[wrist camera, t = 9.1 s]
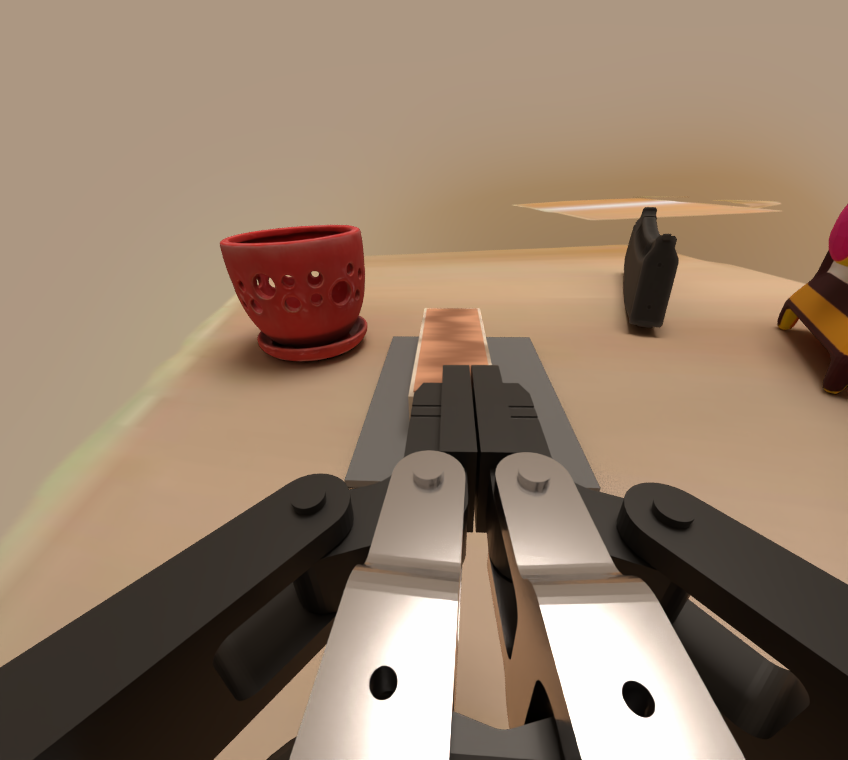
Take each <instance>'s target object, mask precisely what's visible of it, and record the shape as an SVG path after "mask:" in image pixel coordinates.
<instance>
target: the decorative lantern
mask: <svg viewBox="0 0 848 760" xmlns="http://www.w3.org/2000/svg"><path fill="white" fill-rule="evenodd" d="M799 319H800V320H801V321H802V322H803V324H804V325H805V326H806V327H807V328H808V329H809V330H810V331H811V332H812V333H813V335H814V336H815V337H816V338H817V339H818V340H819V341H820V342H821V343H822V345H823V346H824V347H825V348H826V349H827V350H828V351H829V353H830V356H831V363H830V366H829V368H828V370H827V373H826V375H825V378H824V380H823V388H824V390H825V391H827V392H828V393H833V394H837V393H839V392H841V391H843V390H844V389H845V388H846V387H847V386H848V204H847V206H846V207H845V208H844V209H843V211H842V212H841V214H840V215H839V217H838V219H837V221H836V223H835V225H834V227H833V229H832V231H831V234H830V237H829V251H828V252H827V254H826V256H825V258H824V260H823V262H822V264H821V266H820V268H819V270H818V272H817V273H816V275H815V276H814V278H813V279H812V280H811V281H809V282H808V283H807V284H806V285H804V286H803V287H802V288H800V289H799V290H798V291H797V292H795V293H794V294H793V295H792V296H791V297H790V298H789V299H787V301H786V302H785V304H784V306H783V308H782V310H781V312H780V314H779V318H778V327H779V328H780V329H783V330H788V329H791V328H792V327H794V325H795V324H796V323H797V321H798V320H799Z"/></svg>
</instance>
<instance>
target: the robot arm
mask: <svg viewBox="0 0 848 760" xmlns="http://www.w3.org/2000/svg"><path fill="white" fill-rule="evenodd" d="M474 512H475V526H476V532H482V533H487V539H488V559H487V569H488V575H489V581H490V587H491V593H492V599H493V605H494V611H495V616H496V622H497V628H498V634H499V640H500V646H501V652H502V657H503V664H504V672H505V692H506V706H507V715H508V723H509V729H507V730H502V729H496V728H493V727H491V726H488V725H486V724H483V723H481V722H478V721H476V720H473V719H471V718H469V717H466V716H464V715H461V714H459V713H456V712H455V701H456V678H457V658H458V638H459V619H460V599H461V580H462V564H463V562H464V560H465V556H466V537H467V532H473V521H474ZM690 595H691V596H692V597H694V598H695V599H696V600H698V601H699V602H700V603H702V604H703V605H704V606H706V607H707V608H708V609H710V610H711V611H712V612H714V613H715V614H716V615H718V616H719V617H720V618H721V619H723V620H724V621H725V622H727V623H728V624H729V625H731V626H732V627H733V628H735V629H736V630H737V631H739V632H740V633H741V634H743V635H744V636H745V637H747V638H748V639H749V640H751V641H752V642H753V643H755V644H756V645H757V646H759V647H760V648H761V649H763V650H764V651H765V652H766V653H768V654H769V655H770V656H772V657H773V658H774V659H776V660H777V661H778V662H780V663H781V664H782V665H784V666H785V667H786V668H787V669H789V670H790V671H789V670H786V669H783V668H781V667H779V666H777V665H775V664H773V663H771V662H770V661H768V660H767V659H766V658H764V657H763V656H762V655H760V654H759V653H758V652H756V651H755V650H754V649H753V648H751V647H750V646H749V645H747V644H746V643H745V642H743V641H742V640H741V639H739V638H738V637H737V636H736V635H734V634H733V633H732V632H730V631H729V630H728V629H726V628H725V627H724V626H723V625H721V624H720V623H719V622H717V621H716V620H715V619H713V618H712V617H711V616H709V615H708V614H707V613H706V612H704V611H703V610H702V609H700V608H699V607H698V606H696V605H695V604H694V603H693V602H691V601H690V600H689V599H688V598H689V597H690ZM326 644H327V645H326ZM325 645H326V648H325V651H324V654H323V657H322V661H321V664H320V667H319V670H318V673H317V676H316V679H315V682H314V685H313V688H312V691H311V694H310V697H309V701H308V704H307V707H306V710H305V713H304V716H303V719H302V722H301V725H300V728H299V731H298V734H297V737H295V738H293V739H292V740H290V741H289V742H288V743H286V744H285V745H284V746H282V747H281V748H280V749H279V750H277V751H276V752H275V753H273V754H272V755H271V756H270V757H269V758H268V759H267V760H848V585H847V584H846V583H844V582H842V581H840V580H839V579H837V578H835V577H834V576H832V575H830V574H828V573H827V572H825V571H823V570H821V569H820V568H818V567H816V566H814V565H813V564H811V563H809V562H807V561H806V560H804V559H802V558H800V557H799V556H797V555H795V554H793V553H792V552H790V551H788V550H787V549H785V548H783V547H781V546H780V545H778V544H776V543H774V542H773V541H771V540H769V539H767V538H766V537H764V536H762V535H760V534H759V533H757V532H755V531H753V530H752V529H750V528H748V527H746V526H745V525H743V524H741V523H740V522H738V521H736V520H734V519H733V518H731V517H729V516H727V515H726V514H724V513H722V512H720V511H719V510H717V509H715V508H713V507H712V506H710V505H708V504H706V503H705V502H703V501H701V500H699V499H698V498H696V497H694V496H693V495H691V494H689V493H687V492H685V491H683V490H680V489H678V488H675V487H672V486H669V485H665V484H660V483H641V484H638V485H635V486H633V487H631V488H630V489H629V490H628V491H627V492H626V494H625V497H624V498H621V497H617V496H613V495H609V494H606V493H602V492H598V491H594V490H591V489H588V488H585V487H583V486H581V485H579V484H577V483H575V482H574V481H573V479H572V477H571V475H570V474H569V472H568V471H567V470H566V469H565V467H563V466H562V465H561V464H560V463H558V462H557V461H555V460H554V459H552V456H551V453H550V450H549V448H548V445H547V442H546V439H545V436H544V433H543V430H542V427H541V424H540V422H539V419H538V416H537V413H536V410H535V408H534V404H533V401H532V398H531V395H530V393H529V392H528V391H526V390H525V389H524V388H523V387H522V386H521V385H520V384H519V383H503V382H502V377H501V373H500V369H499V366H498V365H471V373H470V367H469V365H443V373H442V383H423V384H422V385H421V386H420V387H419V388H418V389H417V390H416V391H415V392H414V396H413V403H412V409H411V418H410V421H409V428H408V434H407V440H406V447H405V453H404V458H403V459H401V460H400V461H399V462H398V463H397V465H396V466H395V468H394V470H393V472H392V475H391V476H389V477H388V478H386V479H385V480H383V481H380V482H378V483H375V484H372V485H368V486H364V487H360V488H355V489H351V490H349V489H348V486H347V485H346V483H345V482H344V481H343V480H341V479H340V478H338V477H336V476H333V475H329V474H312V475H307V476H304V477H301V478H298V479H296V480H294V481H292V482H290V483H289V484H287V485H285V486H284V487H282V488H281V489H279V490H278V491H276V492H275V493H273V494H271V495H270V496H268V497H267V498H265V499H264V500H262V501H260V502H259V503H257V504H256V505H254V506H253V507H251V508H249V509H248V510H246V511H245V512H243V513H242V514H240V515H238V516H237V517H235V518H234V519H232V520H231V521H229V522H227V523H226V524H224V525H223V526H221V527H220V528H218V529H217V530H215V531H213V532H212V533H210V534H209V535H207V536H206V537H204V538H202V539H201V540H199V541H198V542H196V543H195V544H193V545H191V546H190V547H188V548H187V549H185V550H184V551H182V552H180V553H179V554H177V555H176V556H174V557H173V558H171V559H169V560H168V561H166V562H165V563H163V564H162V565H160V566H159V567H157V568H155V569H154V570H152V571H151V572H149V573H148V574H146V575H144V576H143V577H141V578H140V579H138V580H137V581H135V582H133V583H132V584H130V585H129V586H127V587H126V588H124V589H122V590H121V591H119V592H118V593H116V594H115V595H113V596H111V597H110V598H108V599H107V600H105V601H104V602H102V603H101V604H99V605H97V606H96V607H94V608H93V609H91V610H90V611H88V612H86V613H85V614H83V615H82V616H80V617H79V618H77V619H75V620H74V621H72V622H71V623H69V624H68V625H66V626H64V627H63V628H61V629H60V630H58V631H57V632H55V633H53V634H52V635H50V636H49V637H47V638H46V639H44V640H43V641H41V642H39V643H38V644H36V645H35V646H33V647H32V648H30V649H28V650H27V651H25V652H24V653H22V654H21V655H19V656H17V657H16V658H14V659H13V660H11V661H10V662H8V663H6V664H5V665H3V666H2V667H0V760H213V759H214V758H215V757H216V756H217V755H218V754H219V753H220V752H221V751H222V750H223V749H224V748H225V747H226V746H227V745H228V744H229V743H230V742H231V741H232V740H233V739H234V738H235V737H236V736H237V735H238V734H239V733H240V732H241V731H242V730H243V729H244V728H245V727H246V726H247V725H248V724H249V723H250V722H251V721H252V720H253V719H254V718H255V716H256V715H257V714H258V713H259V712H260V711H261V710H262V709H263V708H264V707H265V706H266V705H267V704H268V703H269V702H270V701H271V700H272V699H273V698H274V697H275V696H276V695H277V694H278V693H279V692H280V691H281V690H282V689H283V688H284V687H285V686H286V685H287V684H288V683H289V682H290V681H291V680H292V679H293V678H294V677H295V676H296V675H297V674H298V673H299V672H300V671H301V670H302V669H303V667H304V666H305V665H306V664H307V663H308V662H309V661H310V660H311V659H312V658H313V657H314V656H315V655H316V654H317V653H318V652H319V651H320V650H321V649H322V648H323V647H324V646H325Z"/></svg>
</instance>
